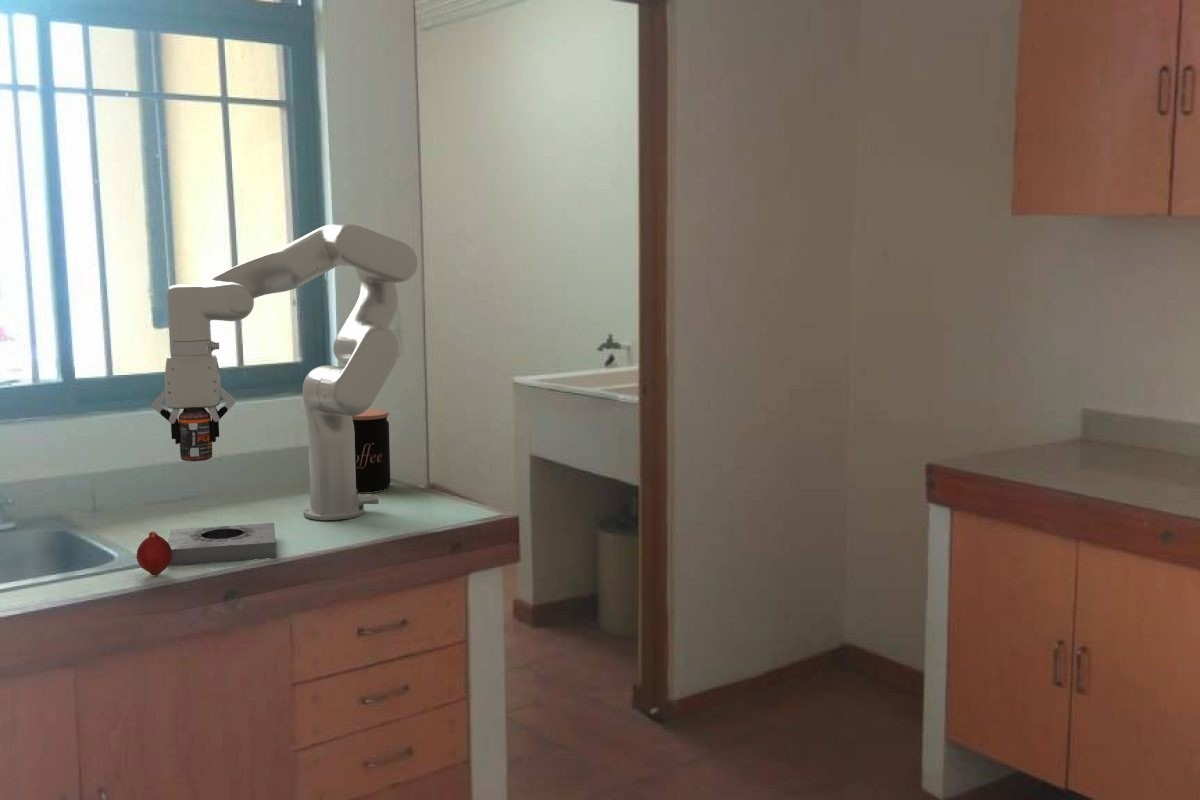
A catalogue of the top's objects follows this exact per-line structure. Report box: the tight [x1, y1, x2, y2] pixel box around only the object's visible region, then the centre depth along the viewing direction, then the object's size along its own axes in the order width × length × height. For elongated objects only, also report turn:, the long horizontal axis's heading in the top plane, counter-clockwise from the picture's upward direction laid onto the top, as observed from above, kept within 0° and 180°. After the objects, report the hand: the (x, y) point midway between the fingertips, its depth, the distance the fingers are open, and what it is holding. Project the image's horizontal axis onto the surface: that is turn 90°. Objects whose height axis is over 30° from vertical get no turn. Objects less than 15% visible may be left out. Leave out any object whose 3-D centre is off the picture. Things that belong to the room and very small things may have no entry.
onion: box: [136, 530, 172, 577], centre depth 206 cm, size 6×6×8 cm
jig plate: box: [167, 522, 277, 567], centre depth 222 cm, size 19×15×3 cm
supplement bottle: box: [178, 407, 213, 462], centre depth 228 cm, size 6×6×11 cm
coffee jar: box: [352, 408, 391, 493], centre depth 274 cm, size 11×11×18 cm
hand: (195, 441), depth 229 cm, fingers closed on supplement bottle, 5 cm apart
